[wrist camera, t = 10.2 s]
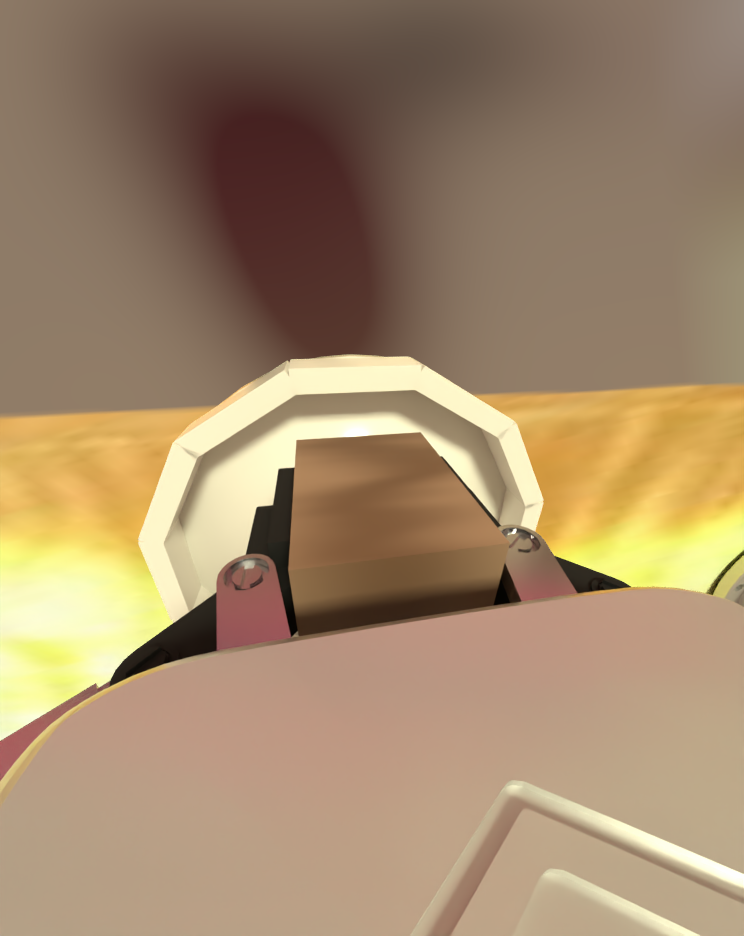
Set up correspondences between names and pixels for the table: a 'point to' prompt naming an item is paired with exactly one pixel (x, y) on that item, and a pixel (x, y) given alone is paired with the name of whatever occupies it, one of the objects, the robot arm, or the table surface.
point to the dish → (313, 417)
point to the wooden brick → (385, 535)
